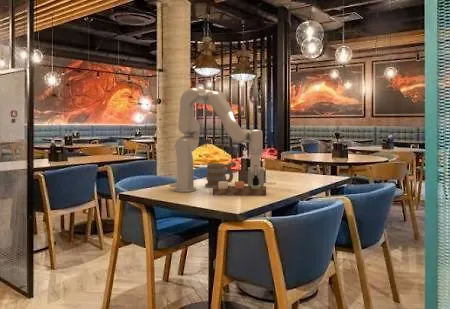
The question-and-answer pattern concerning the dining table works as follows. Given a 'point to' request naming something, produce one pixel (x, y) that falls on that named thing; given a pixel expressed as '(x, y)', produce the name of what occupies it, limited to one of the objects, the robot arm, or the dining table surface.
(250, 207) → the dining table surface
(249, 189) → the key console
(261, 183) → the grey stone cylinder
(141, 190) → the dining table surface
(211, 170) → the tankard
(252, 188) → the sage key
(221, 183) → the cream key
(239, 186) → the terracotta key
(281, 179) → the dining table surface
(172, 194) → the dining table surface
